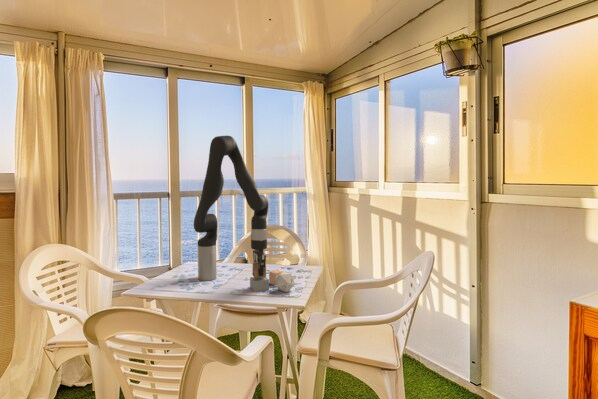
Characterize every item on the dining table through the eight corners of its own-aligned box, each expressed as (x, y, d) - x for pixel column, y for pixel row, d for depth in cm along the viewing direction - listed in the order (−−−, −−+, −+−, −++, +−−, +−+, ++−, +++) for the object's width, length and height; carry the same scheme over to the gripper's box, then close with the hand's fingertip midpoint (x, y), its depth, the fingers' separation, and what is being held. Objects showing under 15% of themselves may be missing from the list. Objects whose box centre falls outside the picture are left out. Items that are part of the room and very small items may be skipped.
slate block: (250, 287, 174) (250, 277, 173) (264, 286, 176) (264, 275, 176) (254, 292, 167) (254, 281, 167) (269, 290, 170) (268, 279, 170)
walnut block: (252, 275, 173) (252, 263, 173) (262, 274, 175) (262, 262, 174) (255, 278, 168) (255, 265, 168) (266, 277, 170) (265, 264, 170)
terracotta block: (269, 283, 180) (269, 271, 180) (277, 281, 184) (277, 269, 183) (275, 285, 177) (275, 273, 176) (283, 283, 180) (283, 271, 180)
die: (276, 295, 164) (290, 278, 162) (267, 282, 170) (280, 265, 168) (289, 298, 170) (302, 281, 168) (279, 284, 176) (292, 268, 174)
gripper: (247, 236, 176) (247, 271, 177) (255, 241, 162) (255, 279, 163) (262, 235, 178) (262, 270, 179) (271, 240, 165) (271, 277, 166)
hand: (259, 274), depth 171 cm, fingers closed on walnut block, 5 cm apart
